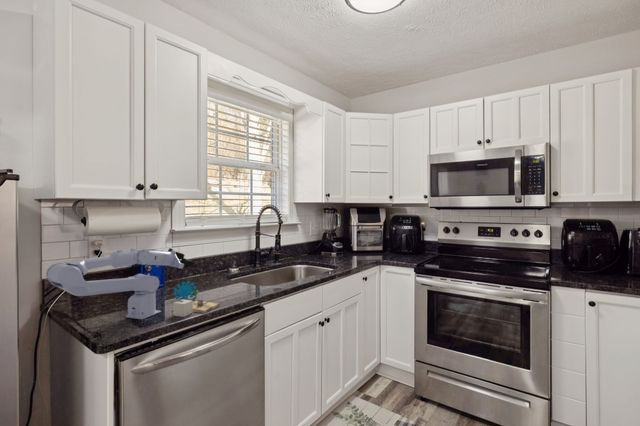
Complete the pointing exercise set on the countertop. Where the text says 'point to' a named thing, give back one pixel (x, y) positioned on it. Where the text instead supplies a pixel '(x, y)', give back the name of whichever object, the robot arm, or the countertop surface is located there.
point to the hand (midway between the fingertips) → (188, 260)
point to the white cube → (183, 307)
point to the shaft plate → (204, 306)
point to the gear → (185, 291)
